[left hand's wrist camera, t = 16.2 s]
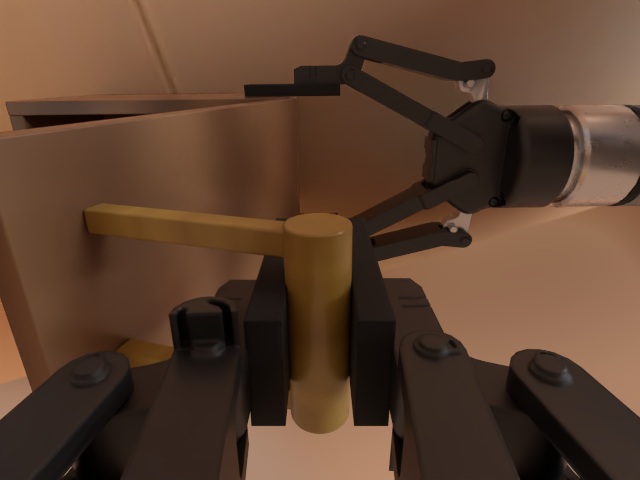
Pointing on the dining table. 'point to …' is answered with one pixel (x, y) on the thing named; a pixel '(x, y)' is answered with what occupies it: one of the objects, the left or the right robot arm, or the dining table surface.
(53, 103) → the chest
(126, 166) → the lid
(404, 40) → the dining table surface
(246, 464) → the left robot arm
